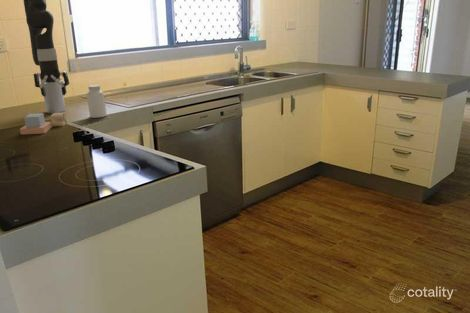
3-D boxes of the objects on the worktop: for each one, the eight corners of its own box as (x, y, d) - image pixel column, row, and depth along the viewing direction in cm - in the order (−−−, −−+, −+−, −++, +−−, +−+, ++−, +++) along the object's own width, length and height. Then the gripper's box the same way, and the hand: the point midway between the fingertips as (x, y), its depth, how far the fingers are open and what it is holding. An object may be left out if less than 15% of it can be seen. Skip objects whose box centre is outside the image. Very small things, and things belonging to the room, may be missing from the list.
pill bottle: (108, 113, 209) (104, 83, 204) (104, 117, 202) (99, 87, 196) (92, 114, 209) (88, 84, 204) (87, 118, 201) (83, 87, 196)
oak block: (56, 123, 195) (54, 113, 194) (66, 122, 196) (64, 112, 194) (52, 126, 191) (50, 115, 189) (63, 125, 191) (61, 115, 189)
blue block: (31, 123, 186) (29, 113, 184) (45, 123, 186) (43, 113, 185) (26, 127, 180) (24, 117, 179) (40, 126, 181) (38, 116, 179)
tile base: (29, 128, 189) (28, 122, 188) (52, 126, 189) (51, 121, 188) (20, 134, 179) (19, 129, 178) (44, 133, 180) (43, 127, 179)
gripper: (66, 57, 187) (72, 93, 192) (34, 59, 186) (41, 95, 191) (61, 59, 180) (68, 96, 185) (27, 61, 179) (35, 98, 184)
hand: (54, 95), depth 188 cm, fingers open, 8 cm apart
